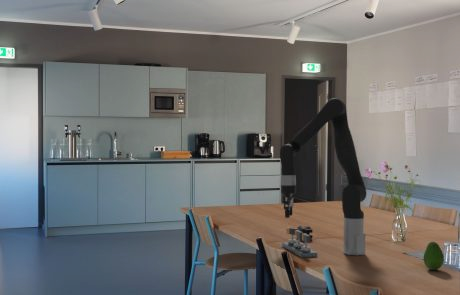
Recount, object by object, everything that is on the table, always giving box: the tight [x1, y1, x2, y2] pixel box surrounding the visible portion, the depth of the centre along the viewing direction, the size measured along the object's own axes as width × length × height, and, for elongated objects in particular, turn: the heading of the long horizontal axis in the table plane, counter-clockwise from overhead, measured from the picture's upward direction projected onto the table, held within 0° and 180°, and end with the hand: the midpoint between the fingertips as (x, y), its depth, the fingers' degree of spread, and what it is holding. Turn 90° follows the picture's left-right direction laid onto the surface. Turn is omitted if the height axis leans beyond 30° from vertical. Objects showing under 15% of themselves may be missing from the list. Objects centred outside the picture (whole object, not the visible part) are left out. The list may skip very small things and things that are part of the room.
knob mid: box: [294, 230, 305, 248], centre depth 268 cm, size 6×4×8 cm
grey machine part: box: [297, 225, 314, 242], centre depth 300 cm, size 10×7×7 cm
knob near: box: [301, 234, 312, 251], centre depth 260 cm, size 6×4×8 cm
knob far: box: [286, 226, 299, 244], centre depth 277 cm, size 6×4×8 cm
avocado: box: [423, 241, 445, 271], centre depth 233 cm, size 8×8×12 cm
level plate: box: [281, 241, 318, 259], centre depth 268 cm, size 26×8×3 cm, turn 14°
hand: (288, 216), depth 277 cm, fingers open, 8 cm apart
